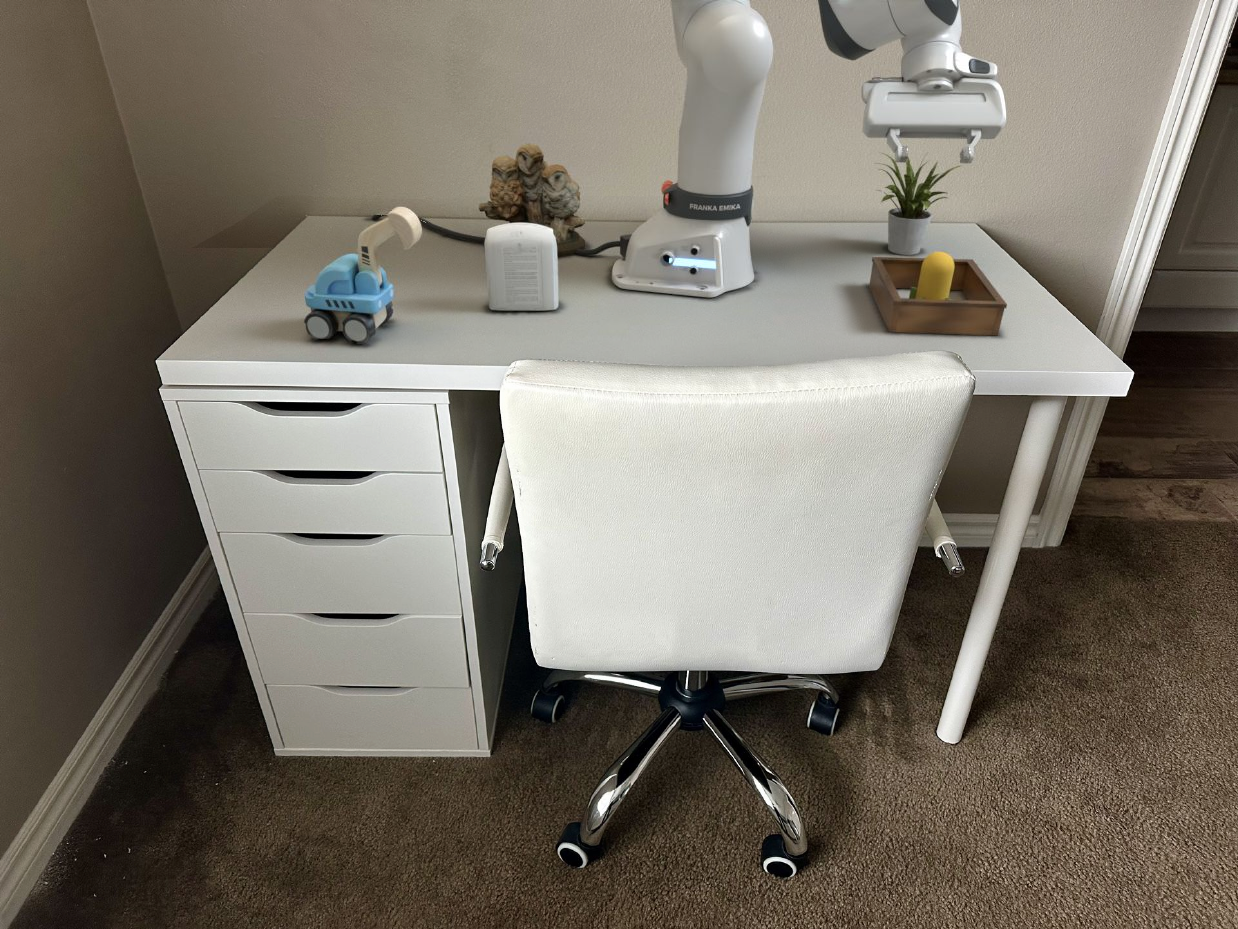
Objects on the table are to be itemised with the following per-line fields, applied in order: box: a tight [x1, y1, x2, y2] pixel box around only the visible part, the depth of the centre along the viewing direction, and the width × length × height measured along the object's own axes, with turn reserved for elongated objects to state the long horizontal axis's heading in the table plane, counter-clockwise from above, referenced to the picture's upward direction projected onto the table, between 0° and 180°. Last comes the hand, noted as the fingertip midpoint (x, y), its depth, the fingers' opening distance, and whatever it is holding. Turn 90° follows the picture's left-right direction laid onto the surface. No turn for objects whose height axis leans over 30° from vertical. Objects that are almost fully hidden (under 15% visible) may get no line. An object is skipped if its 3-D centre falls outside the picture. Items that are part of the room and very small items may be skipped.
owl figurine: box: [478, 142, 587, 258], centre depth 147 cm, size 18×12×17 cm, turn 88°
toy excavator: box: [303, 206, 423, 345], centre depth 116 cm, size 9×17×17 cm, turn 80°
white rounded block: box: [483, 222, 560, 311], centre depth 125 cm, size 10×4×12 cm, turn 92°
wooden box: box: [868, 256, 1008, 336], centre depth 126 cm, size 15×18×5 cm
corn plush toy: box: [908, 251, 954, 300], centre depth 125 cm, size 5×5×8 cm
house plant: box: [874, 151, 961, 256], centre depth 146 cm, size 14×14×16 cm
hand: (934, 160), depth 129 cm, fingers open, 8 cm apart
